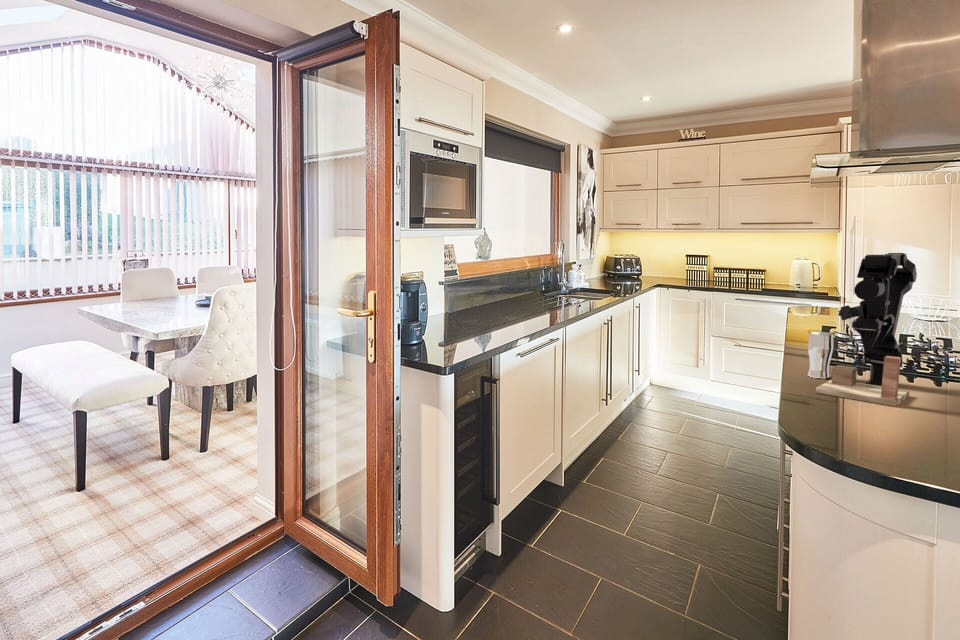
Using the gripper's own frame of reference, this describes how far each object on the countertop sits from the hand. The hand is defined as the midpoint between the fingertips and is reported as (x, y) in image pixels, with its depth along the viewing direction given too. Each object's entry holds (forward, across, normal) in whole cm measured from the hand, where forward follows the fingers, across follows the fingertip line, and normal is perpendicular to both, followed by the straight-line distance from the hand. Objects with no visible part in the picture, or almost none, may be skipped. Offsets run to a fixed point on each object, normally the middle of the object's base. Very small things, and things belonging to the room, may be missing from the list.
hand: (871, 349), depth 149 cm
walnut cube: (+11, +1, -6) cm, 13 cm away
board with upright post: (+13, +4, 0) cm, 14 cm away
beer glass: (+13, -10, -16) cm, 23 cm away
